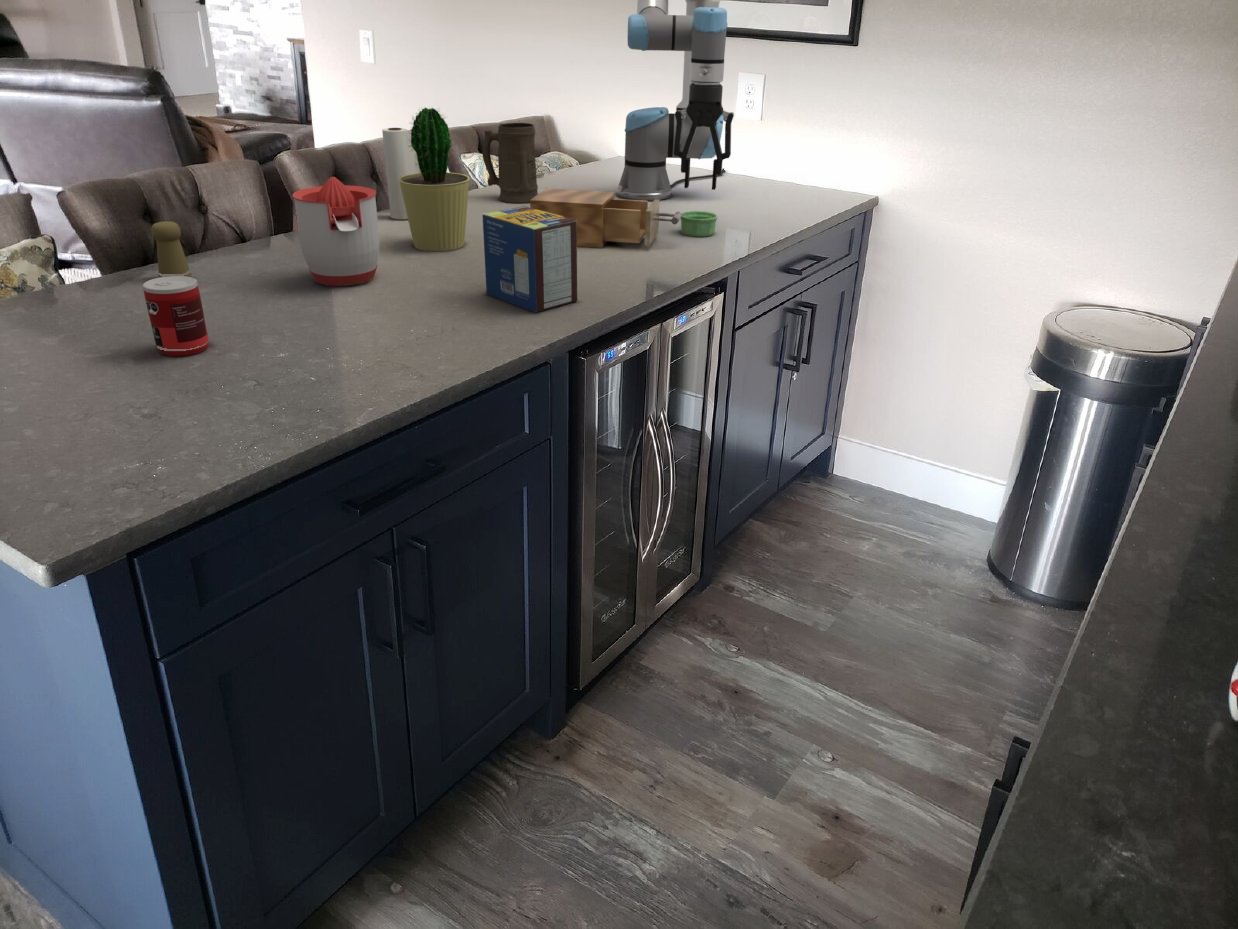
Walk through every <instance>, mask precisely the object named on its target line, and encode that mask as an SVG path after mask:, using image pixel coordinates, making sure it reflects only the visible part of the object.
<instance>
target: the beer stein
mask: <svg viewBox="0 0 1238 929" xmlns="http://www.w3.org/2000/svg"><path fill="white" fill-rule="evenodd" d="M535 137H536V129H535V124H533V123H528V122H508V123H501V124H499V125H498V129H497V132H494V131H492V130H491V129H485V130H484V139H483V143H482V149H481V151H482V153H481V154H482V159H483V163H484V166H485V168H486V170H487V173H488V179H487V185H488V186H489V187H491V186H497V187H499V191H500V192H499V200H500V201H501V202H504V203H510V204H530V200H531V199H532V198H534V197H535V196H536V195H538V194H539V193H538V188H539V185H538V181H537V161H536V146H535V145H536V144H535V142H536V141H535V139H536V138H535ZM493 141H496V142H498V150H497V151H498V152H497V160H498V161H497V162H498V176H497V174H496V171H495V168H494V165H493V162H492V157H491V144H492V142H493Z"/></svg>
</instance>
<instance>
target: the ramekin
mask: <svg viewBox="0 0 1238 929" xmlns="http://www.w3.org/2000/svg"><path fill="white" fill-rule="evenodd" d="M680 213H681V214H682V216H681V218H680V231H681V234H683V235H686V236H689V237H698V238H699V237H700V238H702V237H710V236H713V235H714V234H715V231H716V223H717V220H718V214H717V213H714V212H711V211H704V210H691V211H690V210H689V211H683V212H680Z"/></svg>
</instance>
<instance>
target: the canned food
mask: <svg viewBox="0 0 1238 929" xmlns="http://www.w3.org/2000/svg"><path fill="white" fill-rule="evenodd" d="M142 291H143V296H144V300H145V305H146V308H147V312H148V317H149V321H150V325H151V330H152V334H153V339H154V343H155V346H156V345H157V346H159V347H162V348H167V349H190V348H195V347H197V346H202V345H203V344H205V343H206V342H208V339H209V334H208V329H207V324H206V318H205V313H204V308H203V302H202V298H201V292H200V287H199V283H198V280H197V279H196V278H194V277H192V278H191V277H186V276H168V277H160V278H159V277H156V278H152V279H149V280H147V281H145V282H144V283H143V284H142ZM209 342H210V341H209ZM209 342H208V343H207V344H206V345H204V346H202V347H199V348H196V349H192V350H186V351H164V350H160V349H158V348H157V347H156V349H157V351H158V352H159V354H161V355H164V356H166V357H167V356H169V357H187V356H194V355H197V354H200V353H202V352H204V351H206V350H207V349H208V348H209V344H210V343H209Z"/></svg>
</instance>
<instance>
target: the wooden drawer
mask: <svg viewBox="0 0 1238 929" xmlns="http://www.w3.org/2000/svg"><path fill="white" fill-rule="evenodd" d="M660 201H661V200H656V199H655V200H652V202H651V204H650V205H649V201H643V200H631V199H626V198H614V199H611V200H610V201H609V202H608V203H607V204H606V205H605V206H604V207H603V241H607V242H614V243H615V242H617V243H632V244H640V242H641V241H642V240H643V238H644V247H650V246H651V245H652V243H653V242H654V240H655V239H656V237H657V236H658V235H659V226H660V225H659V224H660V222H668V223H671V224H672V225H677V224H678V223H679V221H681V216H682V214H681V213H682V212H680V211H676V212H675V213H668V212H667V213H666V212H660ZM666 217H667V218H666Z"/></svg>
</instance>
